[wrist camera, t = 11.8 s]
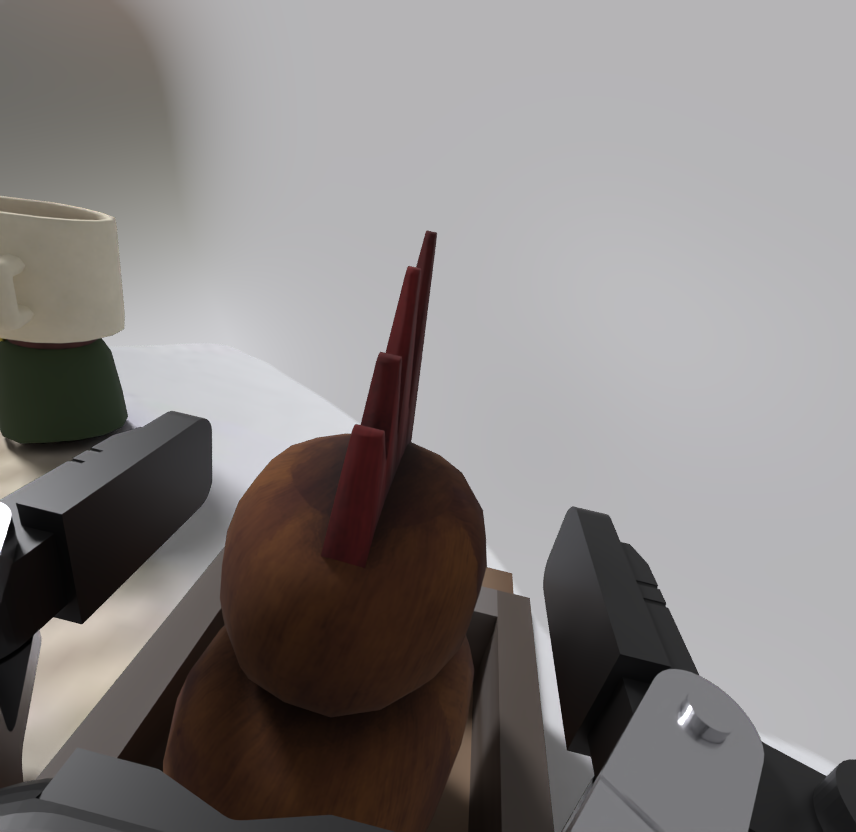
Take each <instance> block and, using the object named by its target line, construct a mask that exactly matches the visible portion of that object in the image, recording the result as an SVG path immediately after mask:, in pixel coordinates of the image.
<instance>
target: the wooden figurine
mask: <svg viewBox="0 0 856 832" xmlns="http://www.w3.org/2000/svg"><path fill="white" fill-rule="evenodd" d="M436 238H437V233H436V232H431V231H426V233H425V237H424V241H423V244H422V248H421V252H420V255H419V259H418V263H417V266H416V267H411V266H408V268H407V271H406V274H405V278H404V282H403V286H402V290H401V294H400V298H399V302H398V306H397V310H396V313H395V318H394V322H393V326H392V329H391V333H390V337H389V341H388V345H387V350H386V353H383V352H380V353H379V355H378V358H377V361H376V365H375V369H374V373H373V377H372V381H371V385H370V389H369V394H368V397H367V401H366V405H365V410H364V414H363V418H362V422H361V425H357V424H355V425H354V428H353V430H352V433H351V434H340V435H333V436H326V437H319V438H315V439H312V440H308V441H305V442H302V443H298V444H295V445H292V446H290V447H289V448H287V449H286V450H285V451H283V452H282V453H281V454H279V455H278V456H276V457H275V458H274V459H272V460H271V461H270V462H269V464H268V465H267V466H266V467H265V468H264V469H263V471H262V472H261V473H260V474H259V475H258V477H257V478H256V479H255V480H254V482H253V483H252V484H251V486H250V487H249V488H248V490H247V491H246V493H245V494H244V495H243V497H242V498H241V499H240V501H239V503H238V505H237V508H236V510H235V513H234V515H233V518H232V520H231V523H230V526H229V528H228V531H227V536H226V543H225V549H224V556H223V562H222V572H221V587H220V602H221V608H222V614H223V619H224V624H225V625H224V626H223V627H222V628H221V629H220V631H219V632H218V633H217V635H216V636H215V637H214V639H213V640H212V642H211V643H210V644H209V646H208V647H207V648H206V650H205V651H204V652H203V654H202V655H201V657H200V658H199V659H198V661H197V662H196V663H195V665H194V666H193V668H192V669H191V670H190V672H189V674H188V676H187V678H186V680H185V683H184V685H183V687H182V689H181V691H180V694H179V696H178V698H177V701H176V706H175V710H174V715H173V719H172V724H171V728H170V733H169V738H168V742H167V747H166V751H165V756H164V760H163V773H165V774H166V775H168V776H169V777H170V778H172V779H173V780H175V781H176V782H177V783H179V784H180V785H182V786H183V787H184V788H186V789H187V790H189V791H190V792H191V793H193V794H194V795H196V796H197V797H198V798H200V799H201V800H203V801H204V802H206V803H207V804H208V805H210V806H211V807H213V808H214V809H215V810H217V811H218V812H220V813H221V814H222V815H224V816H226V817H228V818H229V819H233V820H257V819H272V818H288V817H304V816H319V815H334V816H338V817H341V818H345V819H349V820H353V821H356V822H360V823H364V824H368V825H372V826H375V827H379V828H383V829H387V830H390V831H394V832H426V831H427V829H428V827H429V825H430V823H431V821H432V819H433V816H434V814H435V811H436V809H437V806H438V804H439V801H440V799H441V796H442V794H443V791H444V788H445V786H446V783H447V780H448V778H449V775H450V773H451V770H452V767H453V765H454V762H455V759H456V757H457V754H458V752H459V749H460V746H461V743H462V739H463V735H464V731H465V726H466V722H467V718H468V712H469V705H470V698H471V691H472V684H473V677H474V665H473V660H472V656H471V651H470V646H469V643H468V640H467V637H466V633H467V630H468V627H469V624H470V621H471V618H472V615H473V612H474V609H475V606H476V603H477V600H478V597H479V594H480V591H481V587H482V583H483V579H484V575H485V571H486V567H487V559H486V535H485V525H484V517H483V510H482V508H481V506H480V504H479V503H478V501H477V499H476V497H475V495H474V493H473V492H472V490H471V488H470V486H469V485H468V483H467V481H466V479H465V477H464V475H463V474H462V473H461V472H460V471H459V470H458V469H456V468H455V467H454V466H453V465H451V464H450V463H449V462H448V461H446V460H445V459H444V458H443V457H441V456H440V455H438V454H436V453H434V452H432V451H429V450H427V449H425V448H423V447H420V446H418V445H416V444H414V443H412V442H411V439H412V431H413V423H414V416H415V408H416V400H417V391H418V383H419V376H420V367H421V360H422V351H423V344H424V336H425V327H426V320H427V311H428V303H429V295H430V287H431V279H432V271H433V263H434V255H435V247H436Z"/></svg>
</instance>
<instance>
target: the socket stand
mask: <svg viewBox="0 0 856 832" xmlns="http://www.w3.org/2000/svg"><path fill="white" fill-rule="evenodd" d="M224 549H225V547H224V548H223V549H222V551H221V552H220V553H219V554H218V556H217V557H216V558H215V559H214V560H213V562H212V563H211V564H210V565H209V567H208V568H207V569H206V570H205V572H204V573H203V574H202V575H201V576H200V578H199V579H198V580H197V581H196V583H195V584H194V585H193V586H192V588H191V589H190V590H189V591H188V593H187V594H186V595H185V596H184V597H183V599H182V600H181V601H180V602H179V604H178V605H177V606H176V607H175V609H174V610H173V611H172V612H171V613H170V615H169V616H168V617H167V618H166V620H165V621H164V622H163V623H162V625H161V626H160V627H159V628H158V629H157V631H156V632H155V633H154V634H153V636H152V637H151V638H150V639H149V641H148V642H147V643H146V644H145V645H144V647H143V648H142V649H141V650H140V652H139V653H138V654H137V655H136V657H135V658H134V659H133V660H132V662H131V663H130V664H129V665H128V666H127V668H126V669H125V670H124V671H123V673H122V674H121V675H120V676H119V678H118V679H117V680H116V681H115V682H114V684H113V685H112V686H111V687H110V689H109V690H108V691H107V692H106V694H105V695H104V696H103V697H102V698H101V700H100V701H99V702H98V703H97V705H96V706H95V707H94V708H93V710H92V711H91V712H90V713H89V714H88V716H87V717H86V718H85V719H84V721H83V722H82V723H81V724H80V726H79V727H78V728H77V729H76V730H75V732H74V733H73V734H72V735H71V737H70V738H69V739H68V740H67V742H66V743H65V744H64V745H63V747H62V748H61V749H60V750H59V751H58V753H57V754H56V755H55V756H54V758H53V759H52V760H51V761H50V763H49V764H48V765H47V766H46V767H45V769H44V770H43V771H42V772H41V774H40V775H39V776H38V777H37V779H36V780H38V779H44V778H50V777H54V776H55V775H56V774H57V773H58V771H59V770H60V769H61V767H62V766H63V765H64V764H65V762H66V761H67V760H68V759H69V757H70V756H71V755H72V753H73V752H74V751H75V750H76V748H81V749H85V750H88V751H92V752H96V753H100V754H103V755H107V756H111V757H115V758H119V759H122V760H126V761H130V762H134V763H137V764H141V765H145V766H149V767H153V768H156V769H159V770H161V771H162V772H163V760H164V756H165V751H166V747H167V742H168V738H169V733H170V728H171V724H172V719H173V715H174V710H175V706H176V701H177V698H178V696H179V694H180V691H181V689H182V687H183V685H184V683H185V680H186V678H187V676H188V674H189V672H190V670H191V669H192V668H193V666H194V665H195V663H196V662H197V661H198V659H199V658H200V657H201V655H202V654H203V652H204V651H205V650H206V648H207V647H208V646H209V644H210V643H211V642H212V640H213V639H214V637H215V636H216V635H217V633H218V632H219V631H220V629H221V628H222V627H223V626H224V625H225V624H224V619H223V614H222V608H221V602H220V587H221V572H222V562H223V556H224ZM466 637H467V640H468V643H469V646H470V651H471V656H472V660H473V665H474V677H473V684H472V691H471V698H470V705H469V712H468V718H467V722H466V726H465V731H464V735H463V739H462V743H461V746H460V749H459V752H458V754H457V757H456V759H455V762H454V765H453V767H452V770H451V773H450V775H449V778H448V780H447V783H446V786H445V788H444V791H443V794H442V796H441V799H440V801H439V804H438V806H437V809H436V811H435V814H434V816H433V819H432V821H431V823H430V825H429V827H428V829H427V831H426V832H554V825H553V816H552V806H551V797H550V787H549V778H548V768H547V759H546V749H545V739H544V730H543V720H542V711H541V701H540V692H539V682H538V673H537V663H536V654H535V644H534V635H533V625H532V616H531V606H530V598H527V597H523V596H519V595H515V594H513V580H512V573H508V572H504V571H500V570H496V569H492V568H487V567H486V571H485V575H484V579H483V583H482V587H481V591H480V594H479V597H478V600H477V603H476V606H475V609H474V612H473V615H472V618H471V621H470V624H469V627H468V630H467V633H466Z"/></svg>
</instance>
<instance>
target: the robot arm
mask: <svg viewBox="0 0 856 832" xmlns="http://www.w3.org/2000/svg"><path fill="white" fill-rule="evenodd" d="M211 484H212V428H211V424H210V422H209V421H208V420H207V419H205V418H200V417H196V416H192V415H188V414H183V413H179V412H175V411H170V412H167V413H165V414H164V415H162V416H160V417H159V418H157V419H155V420H154V421H152V422H150V423H149V424H147V425H145V426H144V427H138V428H135V429H132V430H128V431H125V432H122V433H118V434H115V435H112V436H111V437H109V438H107V439H105V440H104V441H102V442H100V443H98V444H97V445H95V446H93V447H91V450H90V451H88V450H86V451H84V452H83V453H81V454H79V455H77V456H76V457H74V458H73V460H72V461H71V462H70V461H67V462H65V463H64V464H62V465H60V466H58V467H57V468H55V469H53V470H51V471H50V472H48V473H46V474H44V475H43V476H41V477H39V478H37V479H36V480H34V481H32V482H30V483H29V484H27V485H25V486H23V487H22V488H20V489H18V490H16V491H15V492H13V493H11V494H9V495H8V496H6V497H4V498H2V499H1V500H0V832H394V831H390V830H387V829H383V828H379V827H375V826H372V825H368V824H364V823H360V822H356V821H353V820H349V819H345V818H341V817H338V816H334V815H319V816H304V817H288V818H272V819H257V820H233V819H229V818H228V817H226V816H224V815H222V814H221V813H220V812H218V811H217V810H215V809H214V808H213V807H211V806H210V805H208V804H207V803H206V802H204V801H203V800H201V799H200V798H198V797H197V796H196V795H194V794H193V793H191V792H190V791H189V790H187V789H186V788H184V787H183V786H182V785H180V784H179V783H177V782H176V781H175V780H173V779H172V778H170V777H169V776H168V775H166V774H165V773H163V772H162V771H161V770H159V769H156V768H153V767H149V766H145V765H141V764H137V763H134V762H130V761H126V760H122V759H119V758H115V757H111V756H107V755H103V754H100V753H96V752H92V751H88V750H85V749H81V748H76V750H75V751H74V752H73V753H72V755H71V756H70V757H69V759H68V760H67V761H66V762H65V764H64V765H63V766H62V767H61V769H60V770H59V771H58V773H57V774H56V775H55V776H54V777H50V778H44V779H38V780H33V781H27V782H23V773H22V749H23V741H24V735H25V730H26V724H27V719H28V713H29V708H30V702H31V697H32V691H33V686H34V680H35V675H36V669H37V664H38V658H39V653H40V647H41V634H40V629H41V628H42V627H43V626H44V625H45V624H46V623H47V622H48V621H50V620H51V619H52V618H53V617H55V618H59V619H63V620H67V621H71V622H75V623H79V624H83V623H84V622H85V621H86V620H87V619H88V618H89V617H90V616H91V615H92V614H93V613H94V612H95V611H96V610H97V609H98V608H99V607H100V606H101V605H102V604H103V603H104V602H105V601H106V600H107V599H108V598H109V597H110V596H111V595H112V594H113V593H114V592H115V591H116V590H117V589H118V588H119V587H120V586H121V585H122V584H123V583H124V582H125V581H126V580H127V579H128V578H129V577H130V576H131V575H132V574H133V573H134V572H135V571H136V570H137V569H138V568H139V567H140V566H141V565H142V564H143V563H144V562H145V561H146V560H147V559H148V558H149V557H150V556H151V555H152V554H153V553H154V552H155V551H156V550H158V549H159V548H160V547H161V546H162V545H163V544H164V543H165V542H166V541H167V540H168V539H169V538H170V537H171V536H172V535H173V534H174V533H175V532H176V531H177V530H178V529H179V528H180V527H181V526H182V525H183V524H184V523H185V522H186V521H187V520H188V519H189V518H190V517H191V516H192V515H193V514H194V513H195V512H196V511H197V510H198V509H199V508H200V507H201V506H202V504H203V503H204V502H205V500H206V498H207V496H208V494H209V491H210V488H211ZM657 586H658V585H657V583H656V580H655V578H654V576H653V574H652V572H651V570H650V567H649V565H648V564H647V563H646V562H645V560H644V559H643V558H642V557H641V556H640V555H639V554H638V553H637V552H636V550H635V549H634V548H633V547H632V546H631V545H630V544H627V543H622V542H620V540H619V537H618V535H617V533H616V530H615V528H614V525H613V523H612V521H611V518H610V517H609V515H607V514H603V513H599V512H594V511H590V510H586V509H582V508H577V507H571V508H570V509H569V510H568V511H567V513H566V515H565V518H564V520H563V523H562V525H561V528H560V531H559V533H558V535H557V538H556V540H555V543H554V545H553V548H552V550H551V553H550V555H549V558H548V560H547V564H546V567H545V573H544V580H543V590H544V597H545V604H546V610H547V618H548V625H549V631H550V638H551V645H552V652H553V659H554V665H555V672H556V679H557V686H558V693H559V700H560V706H561V713H562V720H563V727H564V734H565V740H566V747H567V751H571V752H575V753H579V754H583V755H587V756H591V759H592V764H593V770H594V777H593V778H592V780H591V781H590V783H589V785H588V786H587V788H586V790H585V792H584V793H583V795H582V797H581V798H580V800H579V802H578V804H577V805H576V807H575V809H574V811H573V812H572V814H571V816H570V818H569V819H568V821H567V823H566V825H565V826H564V828H563V830H562V832H856V760H846V761H843V762H842V763H840V764H839V765H838V766H837V767H836V768H835V769H834V770H833V771H832V772H831V773H830V774H829V775H828V776H825V775H823V774H821V773H819V772H818V771H816V770H814V769H812V768H810V767H808V766H806V765H804V764H802V763H801V762H799V761H797V760H795V759H793V758H791V757H789V756H787V755H785V754H784V753H782V752H780V751H778V750H776V749H774V748H772V747H770V746H769V745H767V744H765V743H763V742H762V741H761V739H760V736H759V734H758V732H757V730H756V728H755V726H754V725H753V724H752V722H751V720H750V719H749V717H748V716H747V715H746V713H745V712H744V711H743V710H742V708H741V707H740V706H739V705H738V704H737V703H736V702H735V701H734V700H733V699H732V698H731V697H730V696H729V695H728V694H726V693H725V692H724V691H722V690H721V689H720V688H719V687H718V686H716V685H714V684H713V683H711V682H710V681H708V680H707V679H705V678H703V677H701V676H699V674H698V672H697V669H696V667H695V665H694V663H693V661H692V658H691V656H690V654H689V652H688V650H687V648H686V645H685V643H684V641H683V639H682V637H681V635H680V632H679V630H678V628H677V626H676V624H675V622H674V619H673V618H672V615H671V613H670V611H669V609H668V608H666V606H665V605H666V602H665V600H664V598H663V595H662V593H661V591H660V590H659V589H657Z"/></svg>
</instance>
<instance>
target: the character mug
mask: <svg viewBox="0 0 856 832" xmlns="http://www.w3.org/2000/svg"><path fill="white" fill-rule="evenodd" d="M124 316H125V313H124V301H123V290H122V280H121V269H120V259H119V247H118V236H117V226H116V220H115V218H114V217H112V216H109V215H107V214H104V213H101V212H97V211H93V210H89V209H85V208H80V207H75V206H70V205H64V204H59V203H53V202H45V201H37V200H29V199H21V198H12V197H3V196H0V430H1V433H2V435H3V436H4V437H6V438H8V439H11V440H13V441H16V442H18V443H47V442H59V441H71V440H81V439H86V438H91V437H95V436H100V435H105V434H108V433H110V432H112V431H114V430H116V429H118V428H121V427H123V425H124V423H125V421H126V419H127V417H128V414H127V410H126V405H125V400H124V396H123V391H122V387H121V384H120V380H119V377H118V373H117V370H116V366H115V363H114V359H113V356H112V352H111V350H110V349H109V348H108V346H107V345H106V343H105V342H104V341H103V340H102V338H103V337H107V336H112V335H114V334H116V333H118V332H120V331H122V330H123V329H124V320H125V319H124V318H125V317H124Z"/></svg>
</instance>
